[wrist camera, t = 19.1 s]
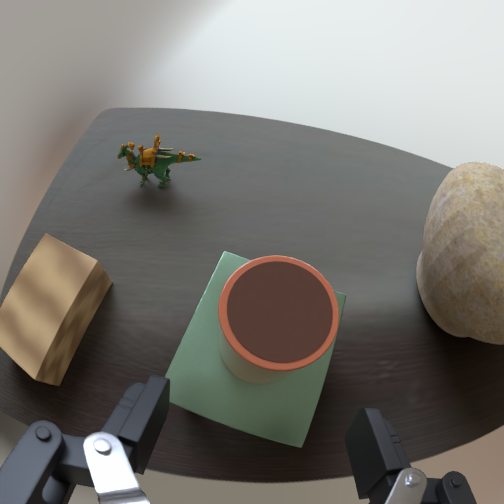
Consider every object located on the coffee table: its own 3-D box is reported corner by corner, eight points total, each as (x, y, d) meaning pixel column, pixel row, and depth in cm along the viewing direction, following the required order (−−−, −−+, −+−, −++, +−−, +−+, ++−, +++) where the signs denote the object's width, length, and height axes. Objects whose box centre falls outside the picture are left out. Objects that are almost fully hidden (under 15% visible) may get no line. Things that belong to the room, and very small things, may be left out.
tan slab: (59, 386, 23) (34, 380, 18) (12, 345, 24) (-12, 333, 19) (113, 282, 30) (97, 260, 26) (62, 254, 31) (45, 232, 26)
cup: (228, 392, 18) (232, 383, 11) (212, 314, 21) (209, 262, 14) (308, 374, 19) (355, 352, 13) (288, 301, 22) (319, 247, 15)
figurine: (128, 171, 39) (116, 128, 32) (204, 177, 39) (203, 130, 32) (120, 186, 37) (107, 142, 30) (200, 192, 38) (198, 145, 31)
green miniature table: (280, 437, 23) (301, 448, 16) (174, 398, 24) (156, 395, 17) (318, 323, 30) (346, 295, 23) (223, 288, 31) (224, 250, 24)
